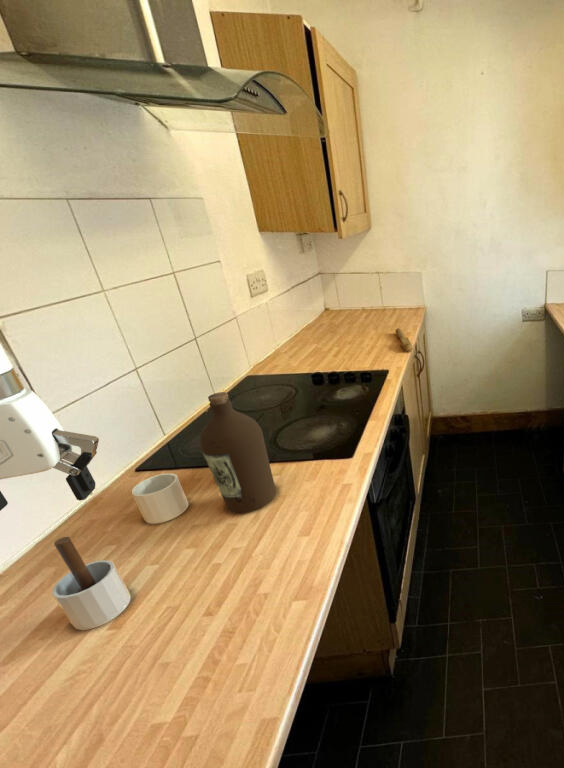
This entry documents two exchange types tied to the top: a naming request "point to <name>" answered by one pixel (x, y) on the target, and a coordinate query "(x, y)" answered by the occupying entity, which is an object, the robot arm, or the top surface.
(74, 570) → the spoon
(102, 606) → the white mortar
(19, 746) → the top surface
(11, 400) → the robot arm
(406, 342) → the rough brown stick
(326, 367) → the top surface
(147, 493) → the white cup
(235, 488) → the olive oil
